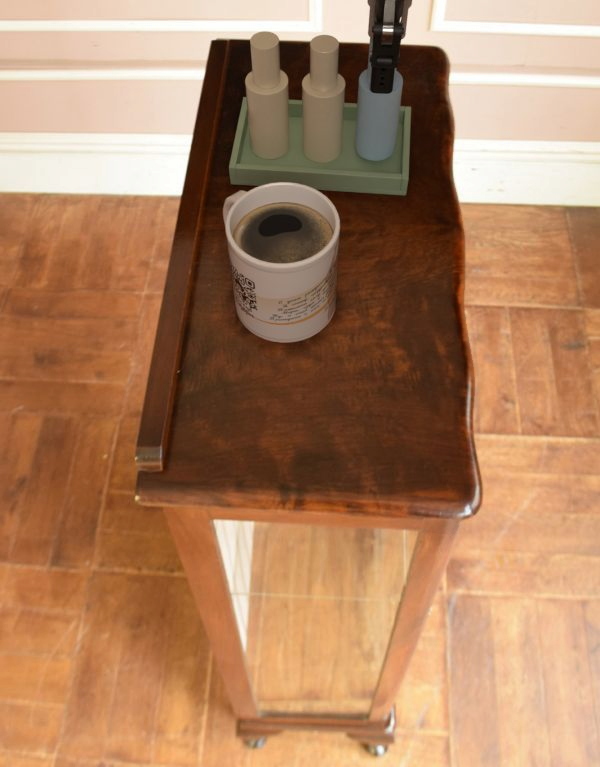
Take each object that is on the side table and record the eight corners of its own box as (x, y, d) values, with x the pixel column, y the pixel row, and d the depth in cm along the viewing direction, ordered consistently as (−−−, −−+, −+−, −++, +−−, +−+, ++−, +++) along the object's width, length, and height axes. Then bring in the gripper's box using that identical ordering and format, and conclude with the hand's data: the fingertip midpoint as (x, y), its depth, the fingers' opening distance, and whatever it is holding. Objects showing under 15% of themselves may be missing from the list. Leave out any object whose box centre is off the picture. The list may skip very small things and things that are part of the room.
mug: (227, 345, 73) (215, 268, 63) (228, 248, 79) (217, 165, 69) (339, 341, 73) (344, 264, 63) (331, 245, 79) (334, 161, 70)
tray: (408, 123, 88) (411, 106, 86) (406, 195, 83) (408, 179, 80) (244, 114, 90) (243, 96, 88) (230, 184, 84) (228, 167, 82)
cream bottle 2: (343, 136, 87) (348, 30, 75) (340, 164, 84) (345, 58, 73) (304, 134, 87) (303, 28, 76) (300, 161, 85) (299, 56, 73)
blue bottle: (395, 134, 85) (408, 26, 74) (394, 162, 83) (407, 54, 72) (356, 132, 86) (362, 24, 75) (353, 159, 83) (360, 52, 72)
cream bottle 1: (291, 133, 87) (289, 27, 76) (287, 160, 85) (284, 55, 74) (252, 131, 87) (245, 25, 76) (247, 158, 85) (238, 53, 74)
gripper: (446, -54, 59) (418, 129, 73) (446, -145, 66) (420, 38, 81) (347, -59, 59) (339, 125, 74) (357, -149, 66) (348, 34, 81)
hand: (381, 79), depth 77 cm, fingers closed on blue bottle, 3 cm apart
